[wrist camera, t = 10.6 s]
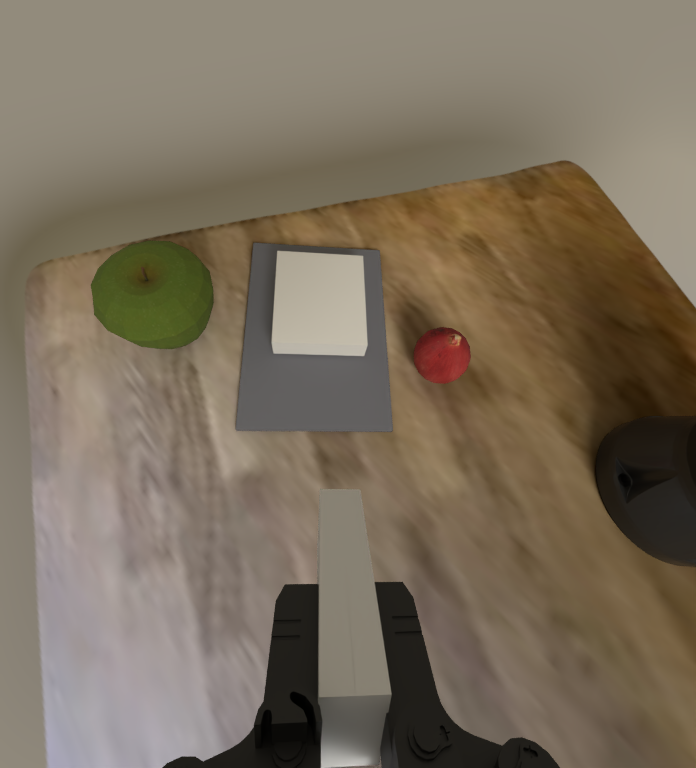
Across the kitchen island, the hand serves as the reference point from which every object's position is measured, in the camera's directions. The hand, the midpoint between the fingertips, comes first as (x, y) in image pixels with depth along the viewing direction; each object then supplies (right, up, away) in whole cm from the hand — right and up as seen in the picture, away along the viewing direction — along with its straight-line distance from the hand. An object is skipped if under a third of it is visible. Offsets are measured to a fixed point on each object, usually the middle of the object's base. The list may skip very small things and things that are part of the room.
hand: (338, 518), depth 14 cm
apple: (-19, +11, +27) cm, 35 cm away
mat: (-3, +11, +29) cm, 31 cm away
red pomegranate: (+10, +7, +29) cm, 31 cm away
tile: (-3, +9, +25) cm, 27 cm away
